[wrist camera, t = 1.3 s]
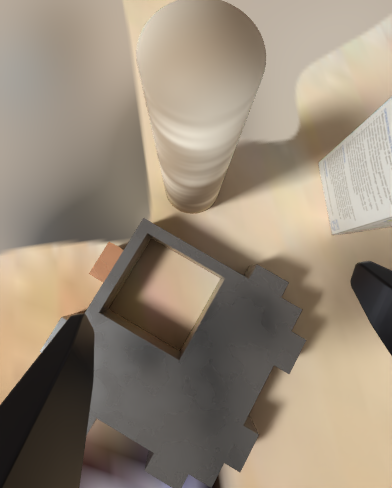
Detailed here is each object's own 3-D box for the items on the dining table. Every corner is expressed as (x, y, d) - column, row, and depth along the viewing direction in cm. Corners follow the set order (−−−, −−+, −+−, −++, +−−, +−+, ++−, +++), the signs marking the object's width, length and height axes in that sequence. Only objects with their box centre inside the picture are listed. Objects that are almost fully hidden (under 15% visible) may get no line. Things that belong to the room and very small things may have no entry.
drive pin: (228, 178, 24) (288, 35, 10) (202, 223, 23) (226, 138, 9) (182, 152, 24) (178, -25, 10) (155, 196, 23) (111, 73, 9)
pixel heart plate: (309, 300, 23) (324, 303, 20) (214, 487, 21) (218, 515, 18) (143, 204, 23) (137, 195, 21) (34, 378, 21) (14, 391, 19)
